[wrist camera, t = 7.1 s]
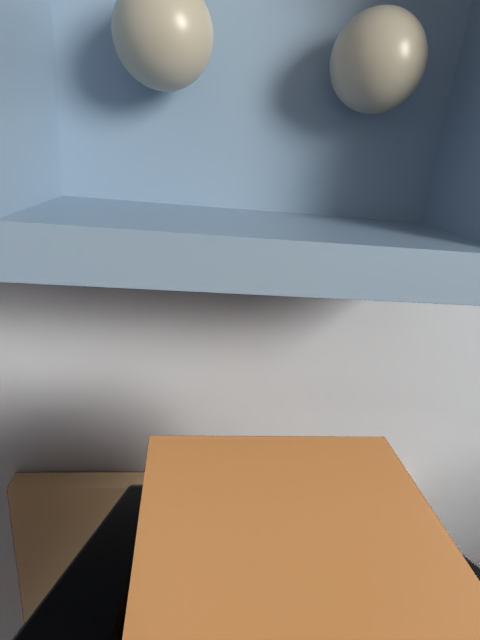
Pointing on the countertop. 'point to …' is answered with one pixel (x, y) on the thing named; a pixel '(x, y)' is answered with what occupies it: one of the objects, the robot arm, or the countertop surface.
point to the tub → (243, 147)
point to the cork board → (57, 522)
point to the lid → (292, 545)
